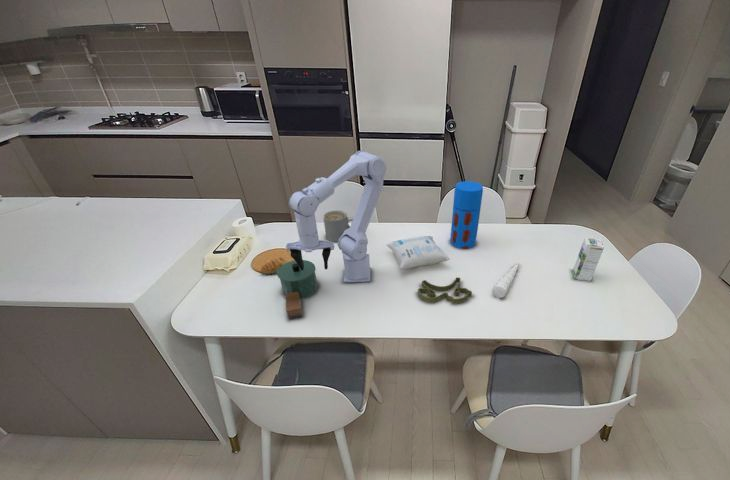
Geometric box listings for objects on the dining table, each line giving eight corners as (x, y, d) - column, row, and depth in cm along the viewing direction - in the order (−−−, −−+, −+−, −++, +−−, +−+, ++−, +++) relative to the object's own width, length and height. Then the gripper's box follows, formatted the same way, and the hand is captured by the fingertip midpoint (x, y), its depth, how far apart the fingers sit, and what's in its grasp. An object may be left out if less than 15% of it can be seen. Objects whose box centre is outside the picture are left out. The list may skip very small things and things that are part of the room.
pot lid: (317, 261, 125) (316, 254, 123) (313, 282, 115) (311, 274, 113) (281, 263, 124) (279, 255, 122) (273, 284, 114) (271, 276, 112)
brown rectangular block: (302, 317, 111) (300, 308, 109) (288, 319, 110) (286, 310, 108) (300, 300, 118) (298, 291, 116) (287, 302, 117) (285, 293, 115)
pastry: (265, 278, 128) (263, 269, 126) (259, 270, 132) (256, 261, 130) (289, 269, 133) (287, 260, 131) (282, 261, 137) (280, 253, 135)
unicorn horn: (527, 268, 134) (530, 257, 131) (503, 300, 118) (505, 289, 116) (515, 264, 136) (517, 253, 133) (490, 295, 121) (492, 284, 118)
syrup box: (572, 270, 133) (583, 237, 124) (588, 272, 132) (601, 238, 123) (574, 279, 128) (586, 245, 120) (591, 281, 127) (605, 247, 119)
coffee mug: (324, 241, 149) (321, 220, 143) (328, 230, 157) (325, 210, 151) (356, 241, 150) (353, 220, 144) (358, 230, 158) (356, 210, 152)
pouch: (433, 228, 143) (386, 233, 138) (451, 252, 129) (400, 259, 124) (431, 244, 148) (386, 250, 143) (449, 269, 134) (399, 277, 129)
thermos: (477, 249, 145) (485, 191, 130) (451, 249, 145) (456, 191, 130) (473, 236, 154) (480, 181, 139) (449, 236, 154) (454, 180, 139)
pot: (319, 278, 128) (316, 261, 124) (315, 298, 119) (311, 280, 115) (287, 279, 127) (282, 262, 123) (280, 299, 118) (275, 282, 114)
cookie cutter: (464, 281, 127) (465, 276, 126) (473, 302, 118) (474, 297, 116) (415, 285, 125) (415, 280, 124) (421, 306, 116) (421, 302, 114)
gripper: (280, 238, 103) (289, 276, 111) (330, 236, 104) (335, 274, 112) (285, 227, 109) (293, 264, 117) (332, 226, 110) (337, 262, 118)
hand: (314, 268), depth 115 cm, fingers open, 7 cm apart
